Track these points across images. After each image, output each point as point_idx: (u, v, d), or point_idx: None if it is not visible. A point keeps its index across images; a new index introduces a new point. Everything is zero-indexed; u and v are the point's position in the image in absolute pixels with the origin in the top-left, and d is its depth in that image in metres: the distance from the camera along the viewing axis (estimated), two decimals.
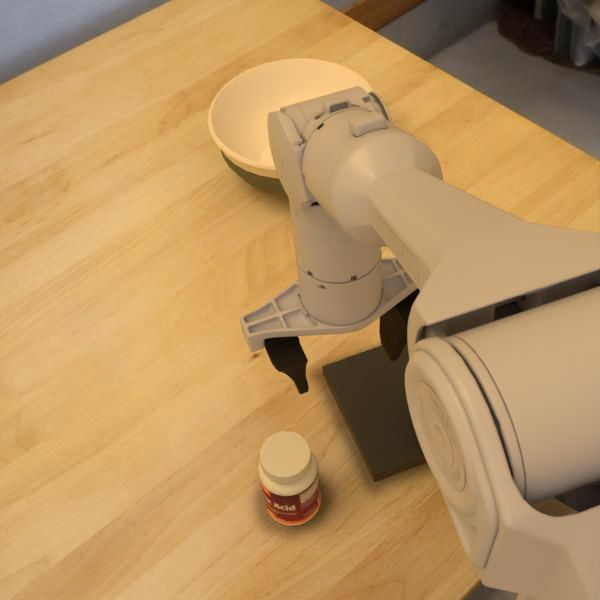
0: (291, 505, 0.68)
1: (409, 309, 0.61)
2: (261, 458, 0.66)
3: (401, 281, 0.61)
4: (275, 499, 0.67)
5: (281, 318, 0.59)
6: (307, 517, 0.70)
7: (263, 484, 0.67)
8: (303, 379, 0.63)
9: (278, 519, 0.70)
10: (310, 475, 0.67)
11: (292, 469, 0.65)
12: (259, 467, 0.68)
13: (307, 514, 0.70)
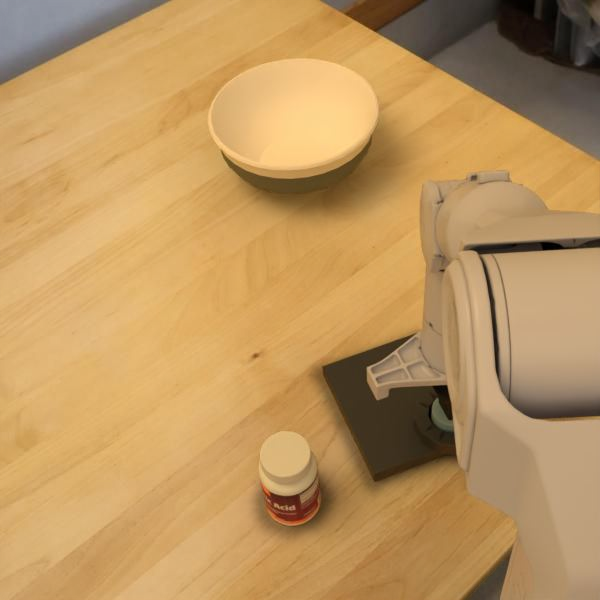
0: (291, 505, 0.68)
1: None
2: (261, 458, 0.66)
3: None
4: (275, 499, 0.67)
5: (405, 369, 0.64)
6: (307, 517, 0.70)
7: (263, 484, 0.67)
8: None
9: (278, 519, 0.70)
10: (310, 475, 0.67)
11: (292, 469, 0.65)
12: (259, 467, 0.68)
13: (307, 514, 0.70)
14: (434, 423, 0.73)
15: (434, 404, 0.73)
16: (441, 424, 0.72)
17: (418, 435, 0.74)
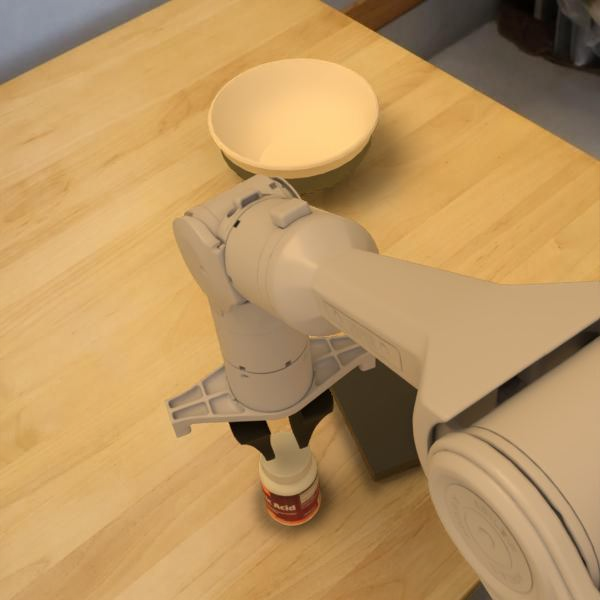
0: (291, 505, 0.68)
1: (310, 403, 0.58)
2: (261, 458, 0.66)
3: (334, 362, 0.58)
4: (275, 499, 0.67)
5: (207, 403, 0.57)
6: (307, 517, 0.70)
7: (263, 484, 0.67)
8: (268, 448, 0.61)
9: (278, 519, 0.70)
10: (310, 475, 0.67)
11: (292, 469, 0.65)
12: (259, 467, 0.68)
13: (307, 514, 0.70)
14: None
15: None
16: None
17: None
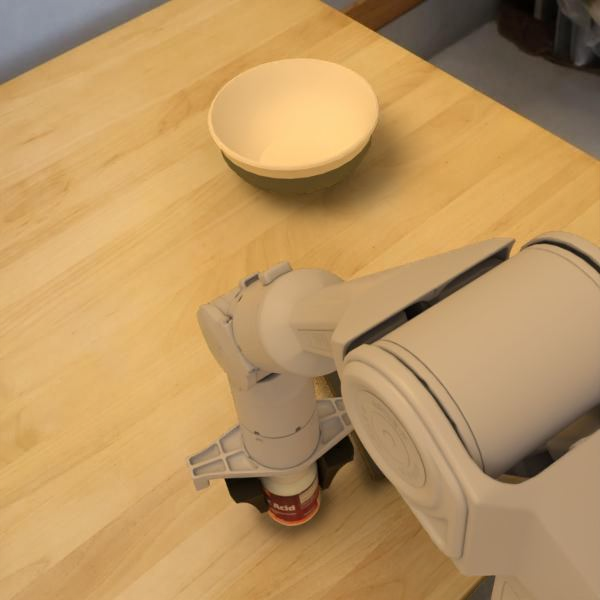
0: (291, 505, 0.68)
1: (332, 453, 0.65)
2: None
3: (339, 422, 0.64)
4: (275, 499, 0.67)
5: (224, 460, 0.63)
6: (307, 517, 0.70)
7: (263, 484, 0.67)
8: (262, 503, 0.67)
9: (278, 520, 0.70)
10: (309, 476, 0.67)
11: None
12: None
13: (307, 514, 0.70)
14: None
15: None
16: None
17: None
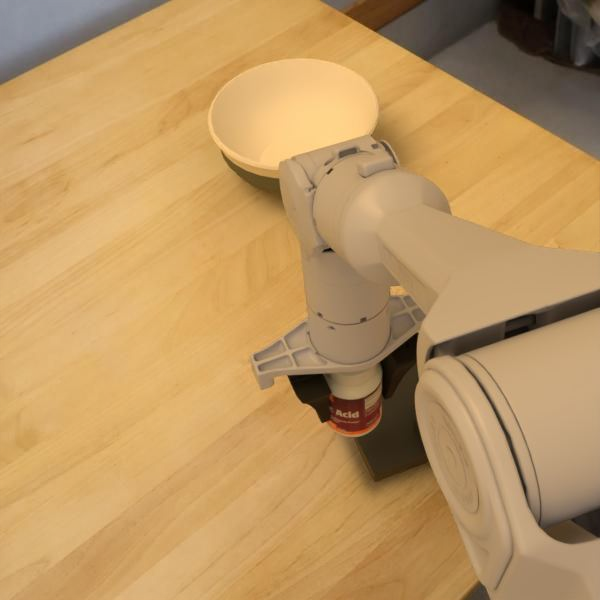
0: (355, 412, 0.65)
1: (402, 351, 0.62)
2: None
3: (409, 318, 0.61)
4: (338, 404, 0.64)
5: (291, 356, 0.60)
6: (369, 427, 0.67)
7: None
8: (325, 409, 0.64)
9: (339, 430, 0.67)
10: (375, 379, 0.64)
11: None
12: None
13: (369, 423, 0.67)
14: None
15: None
16: None
17: (418, 435, 0.74)
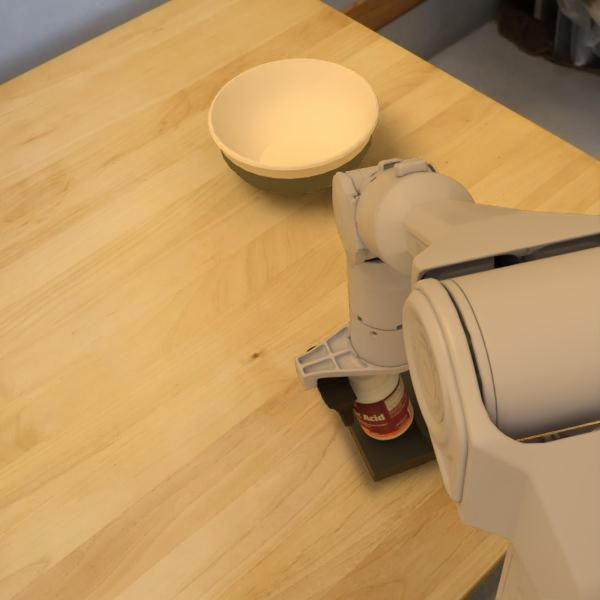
0: (380, 414, 0.69)
1: None
2: None
3: None
4: (362, 409, 0.69)
5: (333, 359, 0.64)
6: (401, 428, 0.72)
7: None
8: (350, 414, 0.68)
9: (373, 434, 0.72)
10: (391, 381, 0.68)
11: None
12: None
13: (399, 424, 0.71)
14: None
15: None
16: None
17: (418, 435, 0.74)
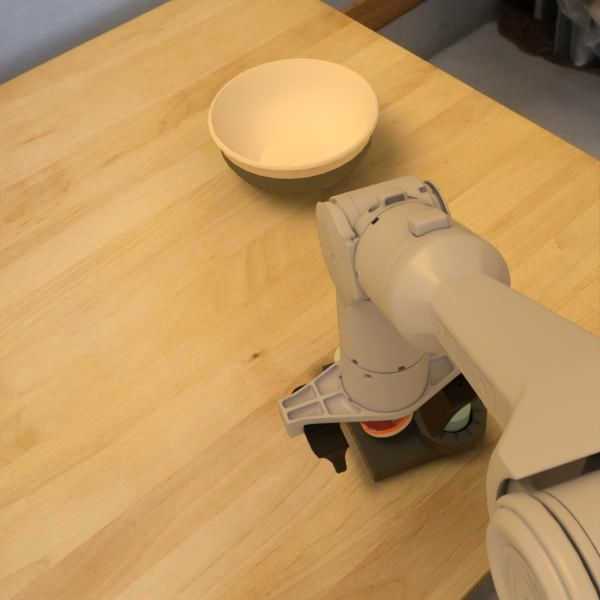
0: None
1: (455, 391, 0.58)
2: (335, 358, 0.70)
3: (447, 362, 0.57)
4: None
5: (322, 403, 0.56)
6: (398, 425, 0.72)
7: None
8: (342, 461, 0.60)
9: (371, 431, 0.72)
10: None
11: None
12: None
13: (396, 420, 0.71)
14: None
15: None
16: None
17: (418, 435, 0.74)
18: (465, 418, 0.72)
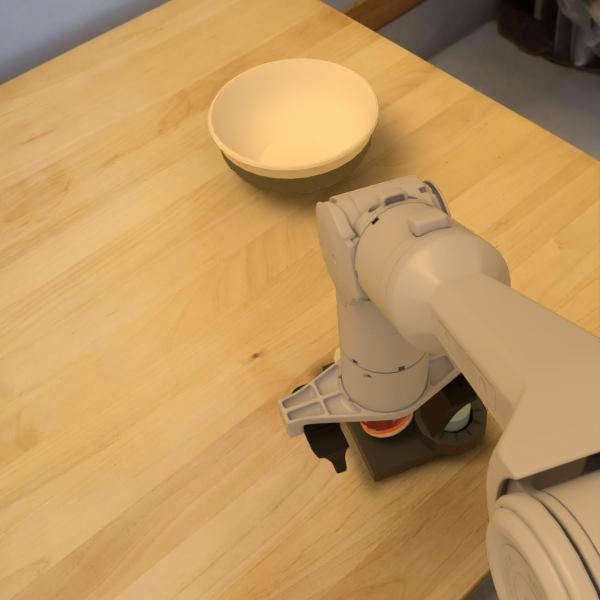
0: None
1: (455, 391, 0.58)
2: (335, 358, 0.70)
3: (447, 362, 0.57)
4: None
5: (322, 403, 0.56)
6: (398, 425, 0.72)
7: None
8: (342, 461, 0.60)
9: (371, 431, 0.72)
10: None
11: None
12: None
13: (396, 420, 0.71)
14: None
15: None
16: None
17: (418, 435, 0.74)
18: (465, 418, 0.72)
